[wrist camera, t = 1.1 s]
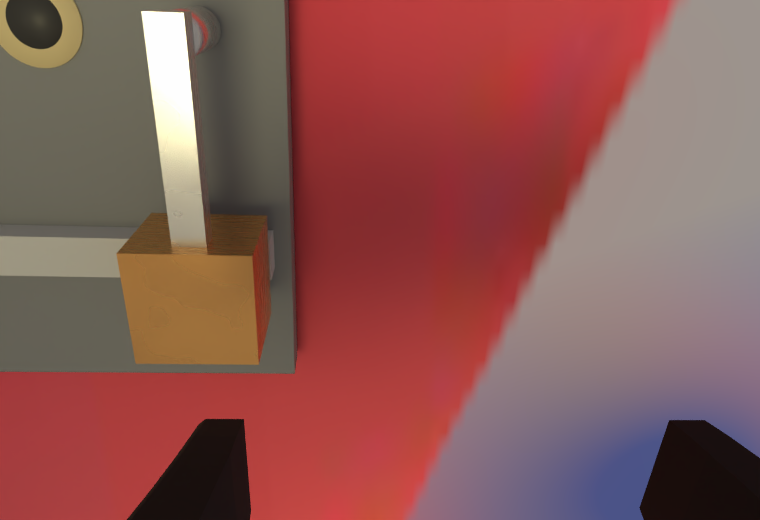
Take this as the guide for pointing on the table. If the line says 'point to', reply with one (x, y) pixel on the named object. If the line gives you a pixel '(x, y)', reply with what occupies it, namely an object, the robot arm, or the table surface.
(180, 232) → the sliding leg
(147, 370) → the plate
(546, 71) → the table surface
